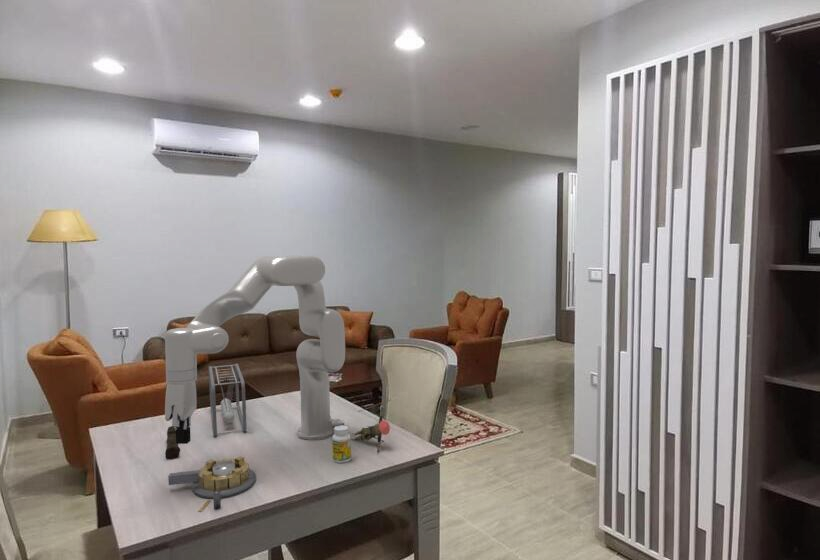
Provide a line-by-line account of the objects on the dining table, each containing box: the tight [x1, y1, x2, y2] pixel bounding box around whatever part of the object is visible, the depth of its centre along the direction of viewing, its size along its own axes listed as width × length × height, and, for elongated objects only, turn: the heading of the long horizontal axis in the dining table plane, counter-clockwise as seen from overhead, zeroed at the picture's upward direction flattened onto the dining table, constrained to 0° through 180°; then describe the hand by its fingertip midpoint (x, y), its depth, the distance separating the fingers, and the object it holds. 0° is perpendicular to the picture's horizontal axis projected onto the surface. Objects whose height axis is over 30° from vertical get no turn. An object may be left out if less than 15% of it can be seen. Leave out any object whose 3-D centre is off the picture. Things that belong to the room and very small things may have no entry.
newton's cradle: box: [208, 363, 248, 437], centre depth 184 cm, size 30×10×18 cm, turn 23°
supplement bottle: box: [331, 425, 352, 464], centre depth 152 cm, size 5×5×10 cm
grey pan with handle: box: [167, 455, 250, 491], centre depth 136 cm, size 20×12×4 cm, turn 104°
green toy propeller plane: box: [351, 396, 398, 454], centre depth 162 cm, size 16×10×20 cm
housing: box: [191, 461, 257, 513], centre depth 135 cm, size 16×21×5 cm
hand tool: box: [164, 425, 181, 460], centre depth 162 cm, size 19×4×5 cm, turn 23°
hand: (183, 442), depth 138 cm, fingers closed
